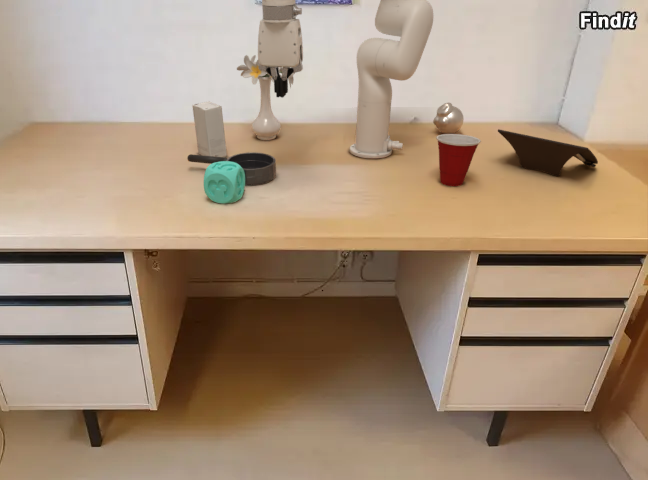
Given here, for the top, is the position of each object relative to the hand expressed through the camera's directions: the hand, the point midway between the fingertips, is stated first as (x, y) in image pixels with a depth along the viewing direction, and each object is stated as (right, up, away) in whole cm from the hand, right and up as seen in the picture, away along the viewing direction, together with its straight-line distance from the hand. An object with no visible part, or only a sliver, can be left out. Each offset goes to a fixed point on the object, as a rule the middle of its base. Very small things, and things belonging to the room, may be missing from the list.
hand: (281, 95), depth 134 cm
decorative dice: (-14, -24, +3) cm, 28 cm away
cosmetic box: (-21, -8, +30) cm, 37 cm away
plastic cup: (+45, -20, +10) cm, 50 cm away
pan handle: (-20, -13, +16) cm, 29 cm away
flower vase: (-4, +1, +44) cm, 44 cm away
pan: (-8, -17, +15) cm, 24 cm away
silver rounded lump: (+54, +2, +45) cm, 70 cm away
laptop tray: (+74, -14, +19) cm, 77 cm away
